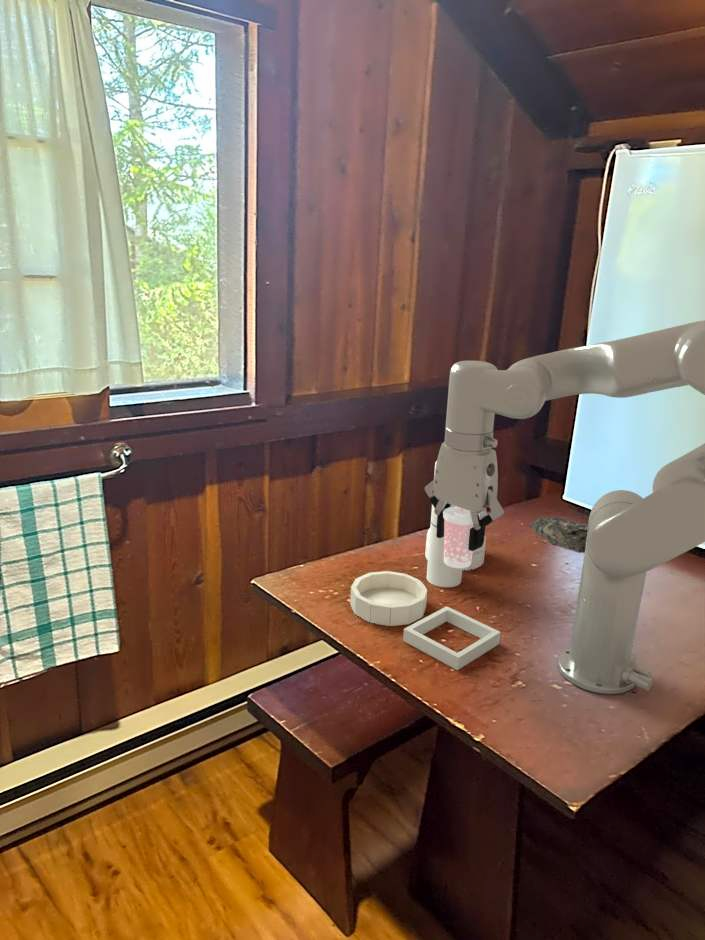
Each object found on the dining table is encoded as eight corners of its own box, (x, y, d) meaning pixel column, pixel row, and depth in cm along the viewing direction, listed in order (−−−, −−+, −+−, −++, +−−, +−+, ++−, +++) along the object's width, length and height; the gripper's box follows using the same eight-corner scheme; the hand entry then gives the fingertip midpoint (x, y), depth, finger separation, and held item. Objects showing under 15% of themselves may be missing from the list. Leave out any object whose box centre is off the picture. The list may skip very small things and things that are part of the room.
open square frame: (499, 643, 133) (500, 632, 132) (457, 670, 124) (458, 657, 124) (445, 617, 140) (446, 606, 140) (403, 640, 132) (403, 628, 132)
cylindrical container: (421, 581, 154) (429, 466, 146) (434, 568, 160) (443, 456, 152) (454, 590, 151) (464, 472, 142) (466, 576, 157) (477, 462, 148)
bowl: (439, 607, 144) (441, 590, 143) (390, 633, 134) (391, 615, 133) (386, 581, 153) (387, 565, 152) (336, 604, 144) (336, 586, 142)
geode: (600, 559, 168) (613, 536, 180) (602, 543, 167) (616, 521, 179) (517, 540, 176) (535, 520, 189) (519, 525, 175) (537, 505, 188)
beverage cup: (475, 572, 124) (483, 493, 120) (438, 568, 125) (444, 489, 121) (475, 556, 130) (483, 480, 125) (440, 552, 131) (446, 477, 126)
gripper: (527, 447, 117) (515, 552, 123) (440, 423, 129) (433, 521, 135) (499, 457, 112) (488, 566, 118) (412, 431, 124) (405, 532, 129)
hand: (459, 541), depth 126 cm, fingers closed on beverage cup, 6 cm apart
